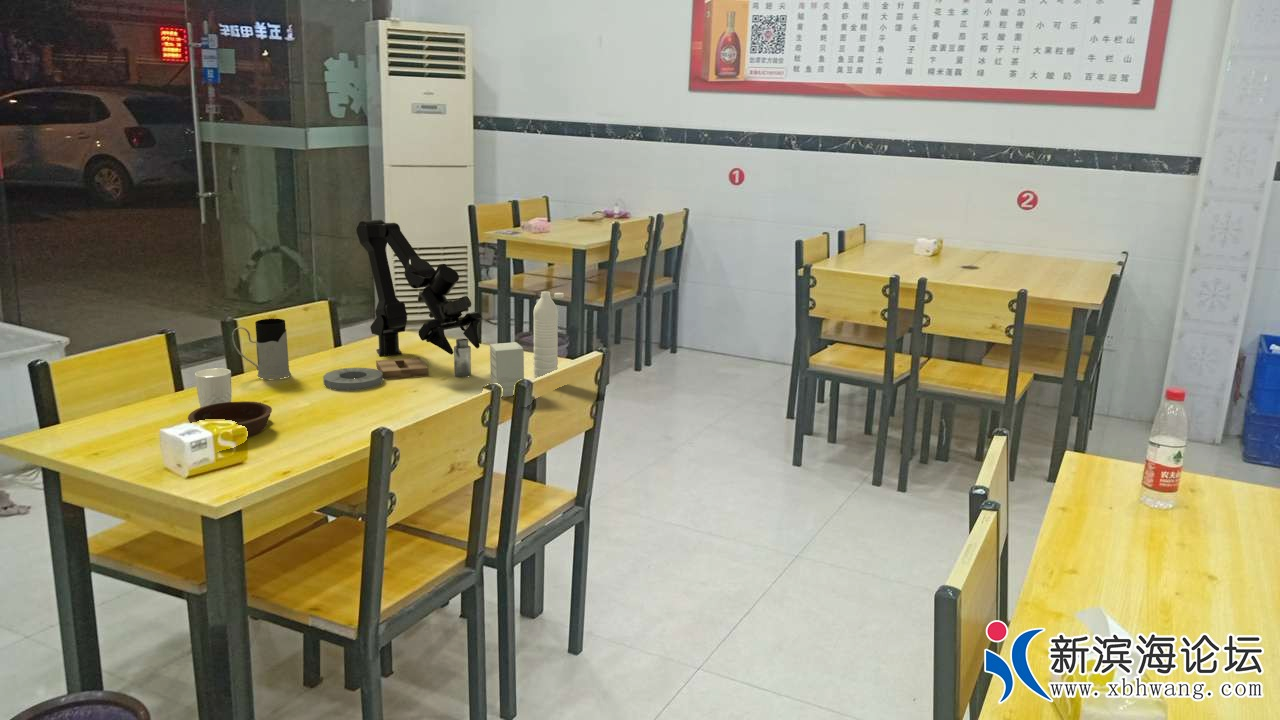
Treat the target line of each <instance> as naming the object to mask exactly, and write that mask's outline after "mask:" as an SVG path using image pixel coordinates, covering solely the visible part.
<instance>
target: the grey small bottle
mask: <svg viewBox="0 0 1280 720" xmlns="http://www.w3.org/2000/svg"><path fill="white" fill-rule="evenodd" d="M455 343H456V344H455V345H454V346H453V352H454V353H453V356H454V357H453V361H454V363H453V365H454V366H453V367H454V370H453V371H454V377H456V378H469V377H471V376H472V354H471V353H472V349H471V345H469V340H468V338H456V339H455ZM468 376H469V377H468Z"/></svg>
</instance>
